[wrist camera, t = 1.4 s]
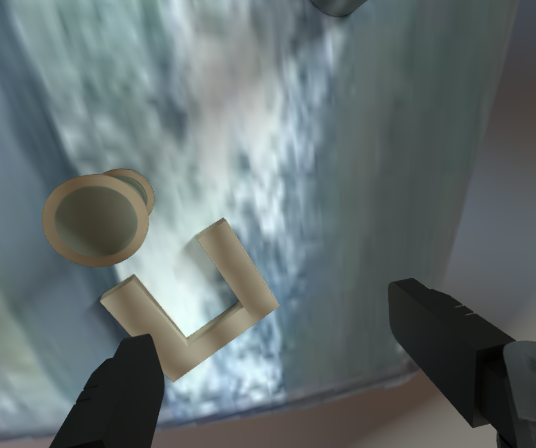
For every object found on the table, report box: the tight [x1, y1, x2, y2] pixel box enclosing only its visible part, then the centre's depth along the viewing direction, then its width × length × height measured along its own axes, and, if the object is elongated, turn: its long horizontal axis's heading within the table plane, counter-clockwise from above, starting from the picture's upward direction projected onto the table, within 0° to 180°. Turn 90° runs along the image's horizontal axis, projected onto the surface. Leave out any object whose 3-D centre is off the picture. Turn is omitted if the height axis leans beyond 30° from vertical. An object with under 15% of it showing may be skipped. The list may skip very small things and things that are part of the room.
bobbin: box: [42, 169, 154, 267], centre depth 27 cm, size 6×6×14 cm
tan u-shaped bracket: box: [100, 218, 280, 382], centre depth 37 cm, size 16×14×2 cm
